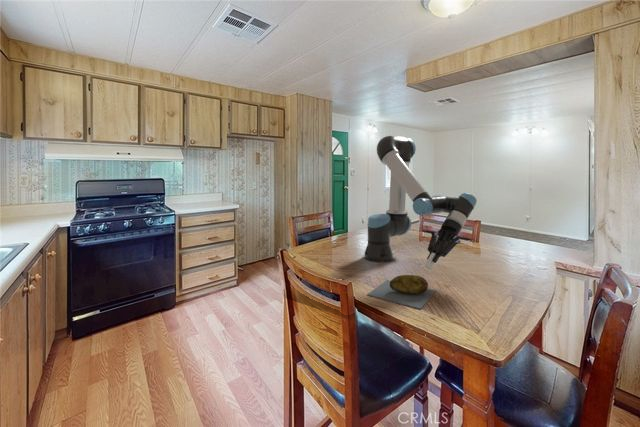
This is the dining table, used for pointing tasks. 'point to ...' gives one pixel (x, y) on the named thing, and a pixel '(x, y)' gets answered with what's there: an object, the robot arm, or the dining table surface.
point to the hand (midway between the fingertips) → (427, 267)
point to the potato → (409, 284)
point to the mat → (401, 296)
